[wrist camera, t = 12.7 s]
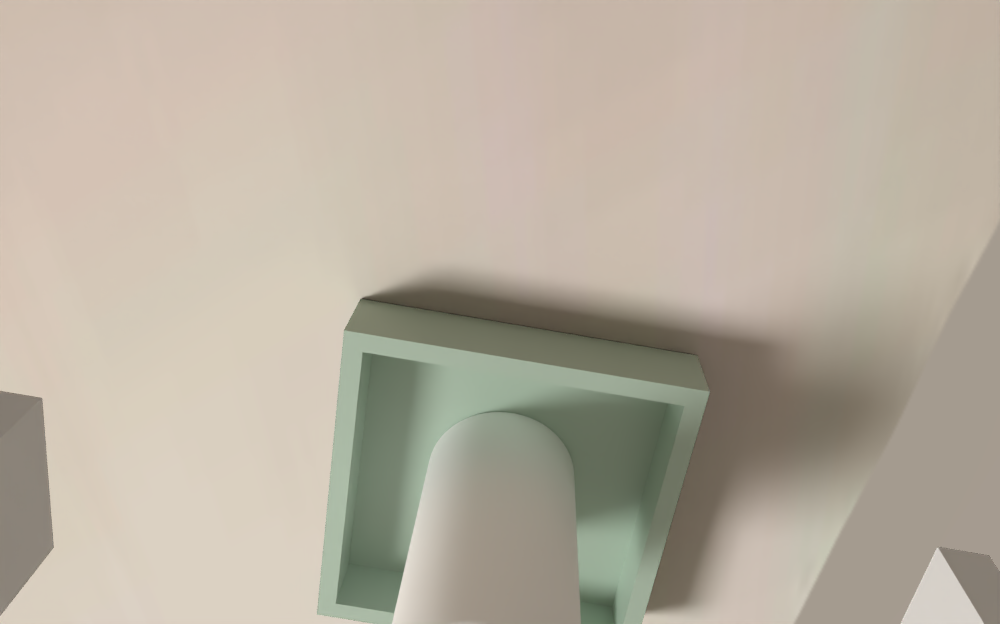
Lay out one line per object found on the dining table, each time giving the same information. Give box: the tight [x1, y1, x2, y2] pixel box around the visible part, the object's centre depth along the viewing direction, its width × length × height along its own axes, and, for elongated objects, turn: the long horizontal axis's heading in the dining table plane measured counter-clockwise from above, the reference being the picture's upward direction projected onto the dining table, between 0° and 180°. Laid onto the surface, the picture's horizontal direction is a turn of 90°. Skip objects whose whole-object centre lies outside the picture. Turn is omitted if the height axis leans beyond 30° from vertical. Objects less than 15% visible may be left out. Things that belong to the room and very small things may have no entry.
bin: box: [317, 299, 710, 624], centre depth 47 cm, size 18×18×4 cm
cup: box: [392, 412, 581, 624], centre depth 41 cm, size 8×8×16 cm
